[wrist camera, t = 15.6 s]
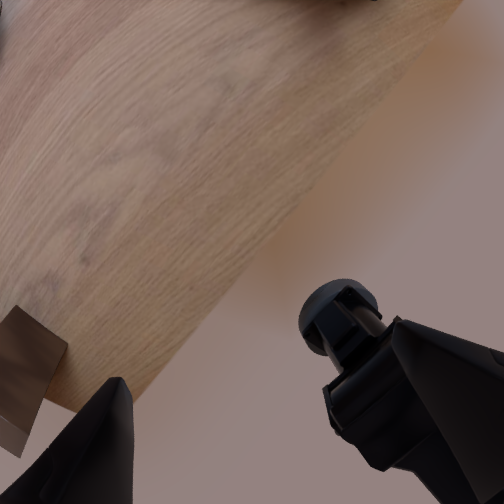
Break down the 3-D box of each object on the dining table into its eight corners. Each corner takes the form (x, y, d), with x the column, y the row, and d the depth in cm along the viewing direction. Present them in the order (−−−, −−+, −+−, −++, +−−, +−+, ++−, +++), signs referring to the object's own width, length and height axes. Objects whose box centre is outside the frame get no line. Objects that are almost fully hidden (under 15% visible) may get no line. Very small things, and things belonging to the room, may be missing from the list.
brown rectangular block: (68, 343, 21) (29, 435, 11) (51, 377, 22) (20, 458, 12) (16, 304, 19) (-43, 381, 9) (4, 343, 20) (-40, 416, 10)
